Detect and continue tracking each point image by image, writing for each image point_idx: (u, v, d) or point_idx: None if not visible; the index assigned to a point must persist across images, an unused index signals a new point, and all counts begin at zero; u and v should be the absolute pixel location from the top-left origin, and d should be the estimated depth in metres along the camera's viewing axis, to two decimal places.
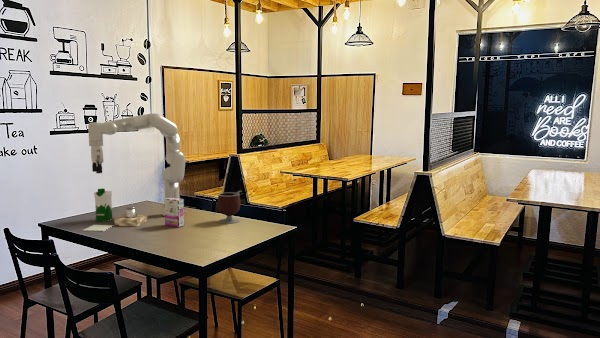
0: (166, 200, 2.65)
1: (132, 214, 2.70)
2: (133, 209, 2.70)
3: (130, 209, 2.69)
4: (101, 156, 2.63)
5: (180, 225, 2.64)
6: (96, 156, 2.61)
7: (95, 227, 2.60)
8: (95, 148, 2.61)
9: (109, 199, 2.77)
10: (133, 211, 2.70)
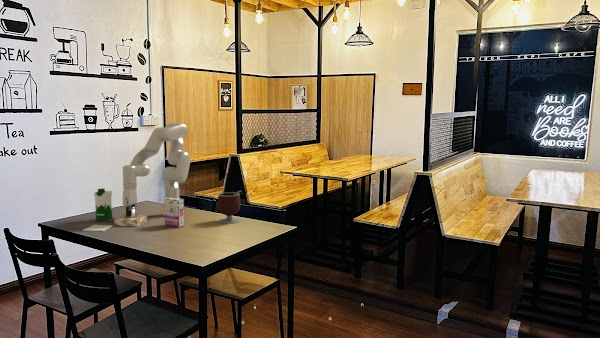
0: (166, 200, 2.65)
1: (132, 214, 2.70)
2: (133, 209, 2.70)
3: None
4: None
5: (180, 225, 2.64)
6: None
7: (95, 227, 2.60)
8: None
9: (109, 199, 2.77)
10: (133, 211, 2.70)
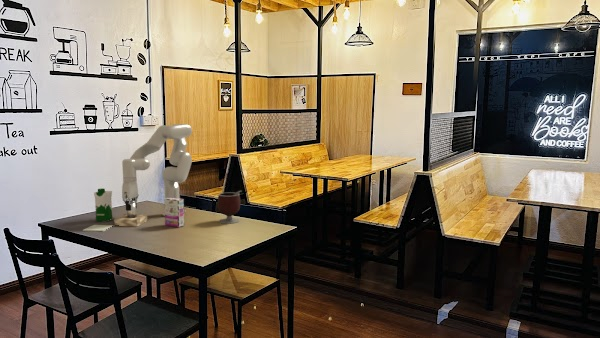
0: (166, 200, 2.65)
1: (131, 208, 2.69)
2: (133, 203, 2.70)
3: (130, 203, 2.69)
4: None
5: (180, 225, 2.64)
6: None
7: (95, 227, 2.60)
8: None
9: (109, 199, 2.77)
10: (133, 205, 2.70)
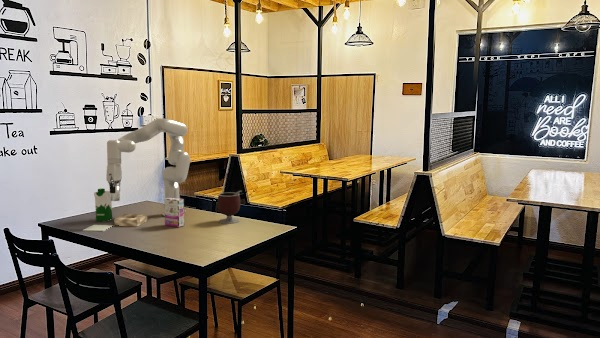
0: (166, 200, 2.65)
1: (116, 190, 2.62)
2: (117, 185, 2.62)
3: None
4: None
5: (180, 225, 2.64)
6: None
7: (95, 227, 2.60)
8: None
9: (109, 199, 2.77)
10: (117, 187, 2.62)
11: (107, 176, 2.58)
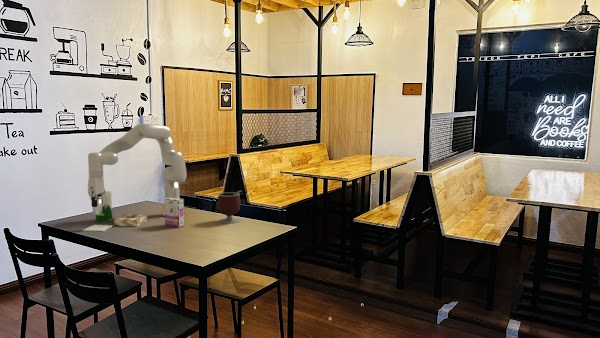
0: (166, 200, 2.65)
1: (98, 204, 2.56)
2: (99, 199, 2.56)
3: None
4: None
5: (180, 225, 2.64)
6: None
7: (95, 227, 2.60)
8: None
9: (109, 199, 2.77)
10: (99, 201, 2.56)
11: (88, 190, 2.52)
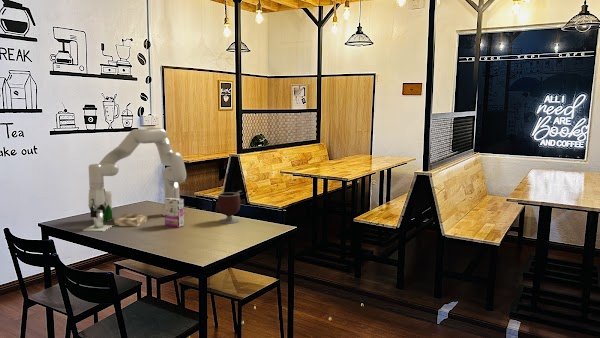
0: (166, 200, 2.65)
1: (99, 217, 2.57)
2: (100, 212, 2.57)
3: (97, 213, 2.56)
4: None
5: (180, 225, 2.64)
6: None
7: None
8: None
9: (109, 199, 2.77)
10: (100, 215, 2.57)
11: (89, 201, 2.53)
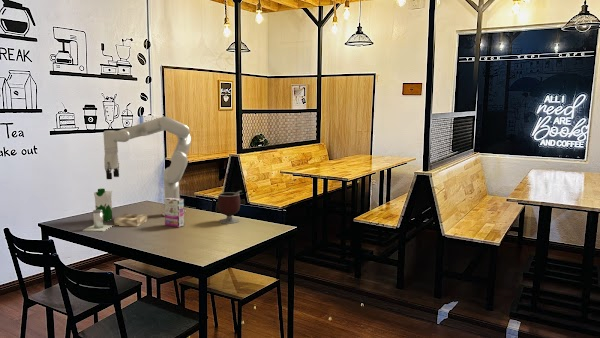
0: (166, 200, 2.65)
1: (99, 217, 2.57)
2: (100, 212, 2.58)
3: (97, 212, 2.56)
4: None
5: (180, 225, 2.64)
6: None
7: None
8: None
9: (109, 199, 2.77)
10: (100, 214, 2.58)
11: None
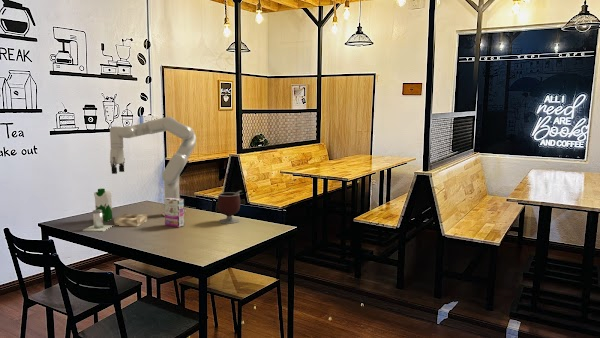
0: (166, 200, 2.65)
1: (99, 217, 2.57)
2: (100, 212, 2.57)
3: (97, 213, 2.56)
4: None
5: (180, 225, 2.64)
6: None
7: None
8: None
9: (109, 199, 2.77)
10: (100, 214, 2.57)
11: None
